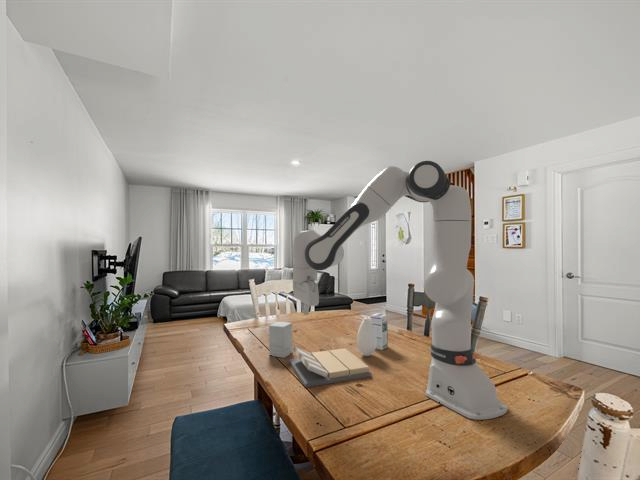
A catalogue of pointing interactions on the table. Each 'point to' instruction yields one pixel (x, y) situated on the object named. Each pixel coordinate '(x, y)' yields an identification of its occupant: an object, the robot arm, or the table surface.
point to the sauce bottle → (366, 337)
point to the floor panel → (319, 378)
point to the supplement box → (280, 339)
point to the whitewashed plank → (310, 362)
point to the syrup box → (380, 330)
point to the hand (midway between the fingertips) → (305, 313)
